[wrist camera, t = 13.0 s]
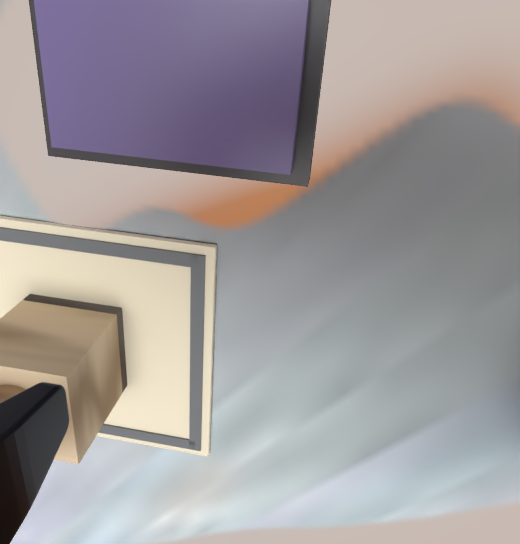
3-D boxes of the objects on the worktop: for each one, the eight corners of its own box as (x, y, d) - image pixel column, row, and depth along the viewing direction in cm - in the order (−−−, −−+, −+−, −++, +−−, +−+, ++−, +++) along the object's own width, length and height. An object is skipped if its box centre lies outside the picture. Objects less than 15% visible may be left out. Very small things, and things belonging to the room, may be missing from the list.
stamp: (127, 384, 25) (63, 488, 19) (42, 370, 25) (-44, 467, 20) (122, 307, 23) (48, 398, 17) (29, 293, 23) (-70, 377, 18)
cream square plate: (217, 244, 21) (214, 249, 20) (209, 452, 26) (207, 458, 26) (-67, 206, 22) (-74, 209, 22) (-18, 410, 28) (-23, 415, 27)
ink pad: (338, -57, 15) (336, -66, 14) (309, 179, 19) (305, 192, 17) (36, -76, 17) (5, -86, 15) (61, 149, 20) (38, 160, 18)
